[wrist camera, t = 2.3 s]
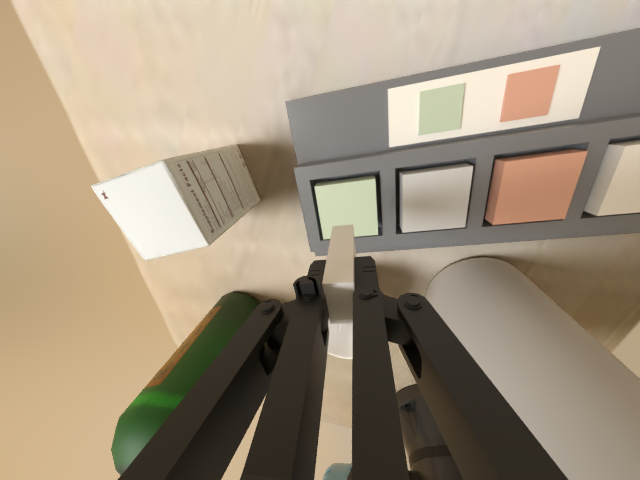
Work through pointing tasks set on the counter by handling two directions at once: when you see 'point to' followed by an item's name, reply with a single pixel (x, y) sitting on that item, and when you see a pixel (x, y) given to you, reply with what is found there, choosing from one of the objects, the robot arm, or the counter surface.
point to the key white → (617, 181)
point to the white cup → (340, 340)
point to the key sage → (348, 205)
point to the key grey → (434, 197)
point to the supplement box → (180, 200)
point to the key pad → (473, 136)
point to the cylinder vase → (545, 367)
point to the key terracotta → (533, 186)
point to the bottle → (178, 377)
